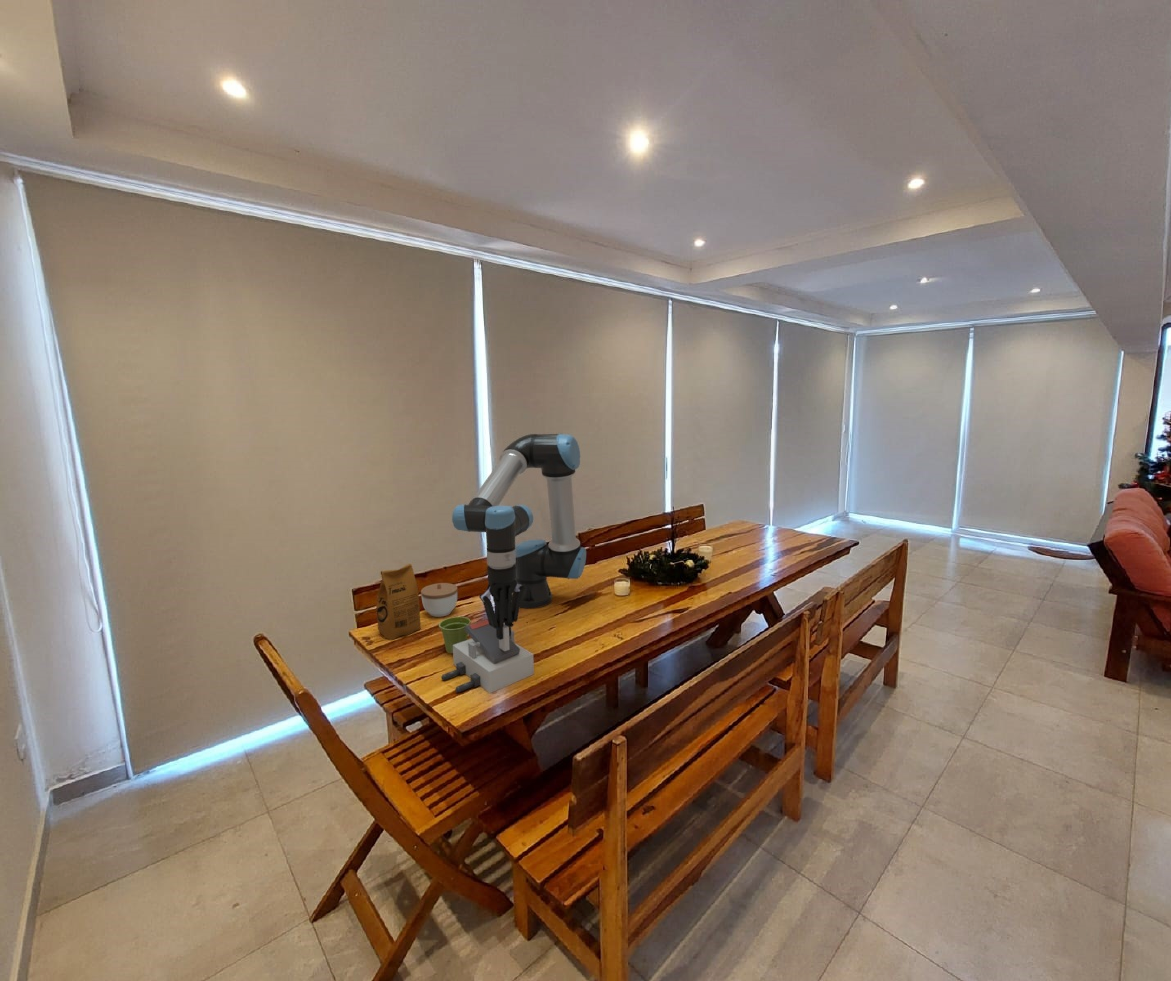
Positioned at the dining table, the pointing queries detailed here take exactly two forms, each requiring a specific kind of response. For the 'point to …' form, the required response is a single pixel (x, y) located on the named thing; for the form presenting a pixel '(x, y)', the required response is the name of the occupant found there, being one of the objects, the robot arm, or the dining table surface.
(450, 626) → the plant pot
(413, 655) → the dining table surface
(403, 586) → the coffee package
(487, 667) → the switch box
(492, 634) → the rocker
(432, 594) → the lidded bowl
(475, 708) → the dining table surface
